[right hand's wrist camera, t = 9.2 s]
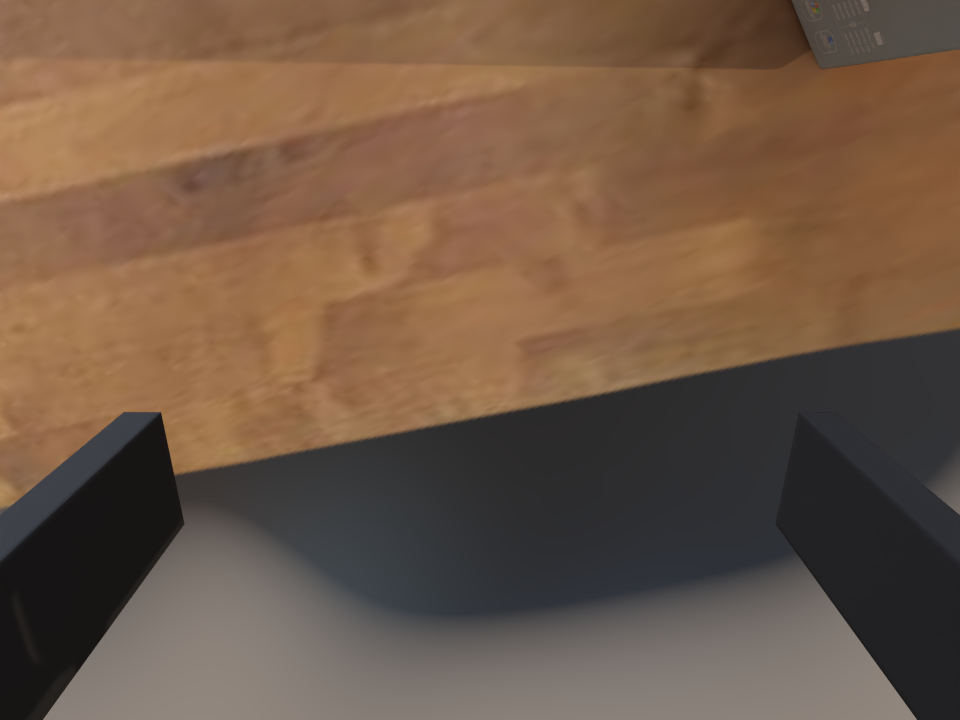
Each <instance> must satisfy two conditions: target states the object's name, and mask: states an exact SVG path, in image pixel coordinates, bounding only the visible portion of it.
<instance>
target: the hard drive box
mask: <svg viewBox="0 0 960 720" xmlns="http://www.w3.org/2000/svg"><path fill="white" fill-rule="evenodd" d="M791 1H792V3H793V6H794V8H795V10H796V13H797V15H798V17H799V20H800V22H801V25H802V27H803V30H804V32H805V35H806V37H807V39H808V42H809V44H810V47H811V49H812V51H813V54H814V56H815V59H816V61H817V63H818V65H819V67H820V68H821V69H827V68H836V67H843V66H850V65H858V64H863V63H870V62H878V61H884V60H891V59H897V58H903V57H910V56H917V55H924V54H931V53H937V52H944V51H951V50H958V49H960V0H791Z"/></svg>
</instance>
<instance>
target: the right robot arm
mask: <svg viewBox="0 0 960 720" xmlns="http://www.w3.org/2000/svg"><path fill="white" fill-rule="evenodd" d="M183 525H184V520H183V515H182V510H181V506H180V501H179V496H178V491H177V487H176V482H175V477H174V472H173V468H172V463H171V458H170V453H169V448H168V444H167V439H166V434H165V429H164V425H163V420H162V415H161V412H123V413H122V414H121V415H120V416H119V417H117V418H116V419H115V420H114V421H113V422H111V423H110V424H109V425H108V426H107V427H105V428H104V429H103V430H102V431H101V432H99V433H98V434H97V435H96V436H95V437H93V438H92V439H91V440H90V441H89V442H87V443H86V444H85V445H84V446H83V447H81V448H80V449H79V450H78V451H77V452H75V453H74V454H73V455H72V456H71V457H69V458H68V459H67V460H66V461H65V462H63V463H62V464H61V465H60V466H59V467H57V468H56V469H55V470H54V471H53V472H51V473H50V474H49V475H48V476H47V477H45V478H44V479H43V480H42V481H41V482H39V483H38V484H37V485H36V486H35V487H33V488H32V489H31V490H30V491H29V492H27V493H26V494H25V495H24V496H23V497H21V498H20V499H19V500H18V501H17V502H15V503H14V504H13V505H12V506H11V507H9V508H8V509H7V510H6V511H5V512H3V513H2V514H1V515H0V720H43V719H44V717H45V716H46V715H47V713H48V712H49V710H50V709H51V708H52V706H53V705H54V703H55V702H56V701H57V699H58V698H59V697H60V695H61V694H62V692H63V691H64V690H65V688H66V687H67V685H68V684H69V683H70V681H71V680H72V679H73V677H74V676H75V674H76V673H77V672H78V670H79V669H80V668H81V666H82V665H83V663H84V662H85V661H86V659H87V658H88V656H89V655H90V654H91V652H92V651H93V650H94V648H95V647H96V645H97V644H98V643H99V641H100V640H101V639H102V637H103V636H104V634H105V633H106V632H107V630H108V629H109V628H110V626H111V625H112V623H113V622H114V621H115V619H116V618H117V616H118V615H119V614H120V612H121V611H122V609H123V608H124V607H125V605H126V604H127V603H128V601H129V600H130V598H131V597H132V596H133V594H134V593H135V592H136V590H137V589H138V587H139V586H140V585H141V583H142V582H143V581H144V579H145V578H146V576H147V575H148V574H149V572H150V571H151V569H152V568H153V567H154V565H155V564H156V563H157V561H158V560H159V558H160V557H161V556H162V554H163V553H164V552H165V550H166V549H167V547H168V546H169V545H170V543H171V542H172V540H173V539H174V538H175V536H176V535H177V534H178V532H179V531H180V529H181V528H182V527H183ZM776 525H777V527H778V528H779V529H780V531H781V532H782V534H783V535H784V536H785V538H786V539H787V540H788V542H789V543H790V545H791V546H792V547H793V549H794V550H795V552H796V553H797V554H798V556H799V557H800V558H801V560H802V561H803V563H804V564H805V565H806V567H807V568H808V569H809V571H810V572H811V574H812V575H813V576H814V578H815V579H816V581H817V582H818V583H819V585H820V586H821V587H822V589H823V590H824V592H825V593H826V594H827V596H828V597H829V598H830V600H831V601H832V603H833V604H834V605H835V607H836V608H837V609H838V611H839V612H840V614H841V615H842V616H843V618H844V619H845V621H846V622H847V623H848V625H849V626H850V628H851V629H852V630H853V632H854V633H855V634H856V636H857V637H858V639H859V640H860V641H861V643H862V644H863V645H864V647H865V648H866V650H867V651H868V652H869V654H870V655H871V657H872V658H873V659H874V661H875V662H876V663H877V665H878V666H879V668H880V669H881V670H882V672H883V673H884V674H885V676H886V677H887V679H888V680H889V681H890V683H891V684H892V686H893V687H894V688H895V690H896V691H897V692H898V694H899V695H900V697H901V698H902V699H903V701H904V702H905V704H906V705H907V706H908V708H909V709H910V710H911V712H912V713H913V715H914V716H915V717H916V719H917V720H960V515H959V514H958V513H957V512H955V511H954V510H953V509H952V508H951V507H949V506H948V505H947V504H946V503H945V502H943V501H942V500H941V499H940V498H938V497H937V496H936V495H935V494H934V493H933V492H931V491H930V490H929V489H928V488H927V487H925V486H924V485H923V484H922V483H920V482H919V481H918V480H917V479H916V478H915V477H913V476H912V475H911V474H910V473H909V472H907V471H906V470H905V469H904V468H902V467H901V466H900V465H899V464H898V463H896V462H895V461H894V460H893V459H892V458H891V457H889V456H888V455H887V454H886V453H885V452H883V451H882V450H881V449H880V448H879V447H877V446H876V445H875V444H874V443H873V442H871V441H870V440H869V439H868V438H867V437H865V436H864V435H863V434H862V433H861V432H859V431H858V430H857V429H856V428H854V427H853V426H852V425H851V424H850V423H849V422H847V421H846V420H845V419H844V418H843V417H841V416H840V415H839V414H838V413H836V412H799V415H798V420H797V425H796V430H795V434H794V439H793V444H792V449H791V453H790V458H789V463H788V467H787V472H786V477H785V482H784V487H783V491H782V496H781V501H780V506H779V510H778V515H777V520H776Z"/></svg>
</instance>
